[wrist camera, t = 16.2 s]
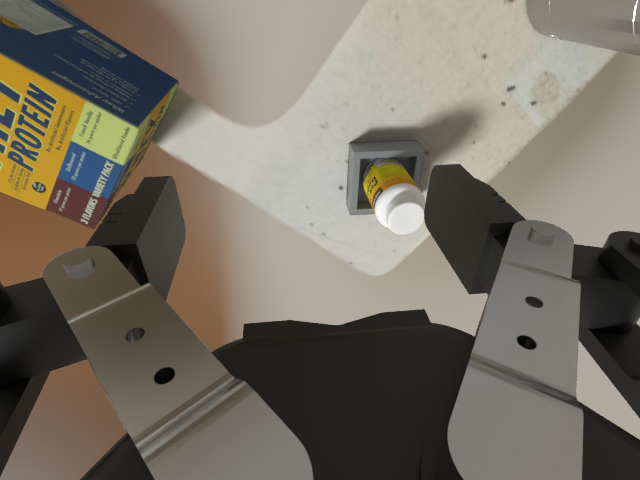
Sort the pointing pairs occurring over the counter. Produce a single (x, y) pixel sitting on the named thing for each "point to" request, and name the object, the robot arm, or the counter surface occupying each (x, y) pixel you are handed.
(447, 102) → the counter surface
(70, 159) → the protein box
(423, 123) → the counter surface
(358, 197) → the bin
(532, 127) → the counter surface
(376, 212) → the supplement bottle
